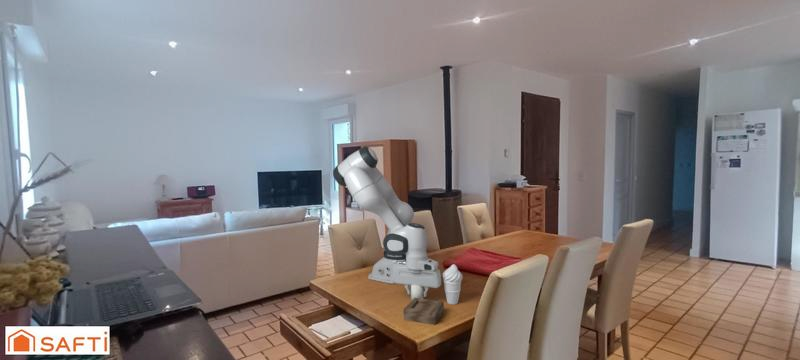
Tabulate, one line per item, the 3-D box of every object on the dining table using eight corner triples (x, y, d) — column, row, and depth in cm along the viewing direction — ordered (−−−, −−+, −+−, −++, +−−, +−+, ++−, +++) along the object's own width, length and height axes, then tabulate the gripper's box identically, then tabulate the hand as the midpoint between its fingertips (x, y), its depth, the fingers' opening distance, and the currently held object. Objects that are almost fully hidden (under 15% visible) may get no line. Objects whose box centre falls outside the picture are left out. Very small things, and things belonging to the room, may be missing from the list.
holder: (403, 319, 136) (403, 309, 135) (414, 307, 147) (414, 297, 146) (435, 324, 131) (434, 313, 131) (443, 311, 142) (443, 301, 142)
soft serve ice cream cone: (449, 307, 146) (448, 268, 145) (438, 300, 153) (438, 263, 152) (466, 304, 149) (466, 265, 148) (455, 297, 157) (455, 260, 156)
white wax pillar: (409, 303, 151) (409, 283, 151) (413, 298, 156) (413, 279, 155) (421, 304, 149) (420, 284, 149) (424, 300, 154) (424, 280, 154)
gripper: (390, 262, 153) (391, 295, 153) (438, 267, 145) (438, 301, 146) (396, 258, 159) (396, 290, 159) (442, 262, 151) (442, 295, 152)
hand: (417, 295), depth 152 cm, fingers closed on white wax pillar, 5 cm apart
